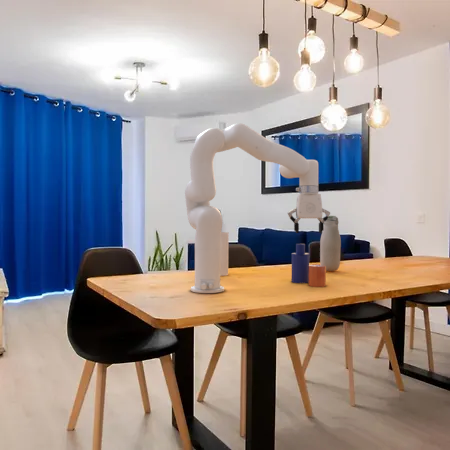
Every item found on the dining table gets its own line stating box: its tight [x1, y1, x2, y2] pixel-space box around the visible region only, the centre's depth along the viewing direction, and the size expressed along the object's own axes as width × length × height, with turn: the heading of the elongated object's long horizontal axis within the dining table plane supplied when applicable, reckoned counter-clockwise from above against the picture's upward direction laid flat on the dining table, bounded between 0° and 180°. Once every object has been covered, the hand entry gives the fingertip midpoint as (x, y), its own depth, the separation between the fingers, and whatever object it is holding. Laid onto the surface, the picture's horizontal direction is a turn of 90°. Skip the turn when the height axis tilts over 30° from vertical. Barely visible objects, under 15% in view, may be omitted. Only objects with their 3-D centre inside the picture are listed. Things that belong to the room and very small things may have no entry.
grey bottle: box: [319, 215, 342, 272], centre depth 219 cm, size 10×10×28 cm
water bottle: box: [291, 243, 310, 284], centre depth 185 cm, size 7×7×16 cm
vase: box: [220, 231, 229, 277], centre depth 208 cm, size 11×7×20 cm, turn 20°
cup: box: [307, 264, 327, 288], centre depth 176 cm, size 7×7×8 cm
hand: (308, 232), depth 178 cm, fingers open, 9 cm apart
